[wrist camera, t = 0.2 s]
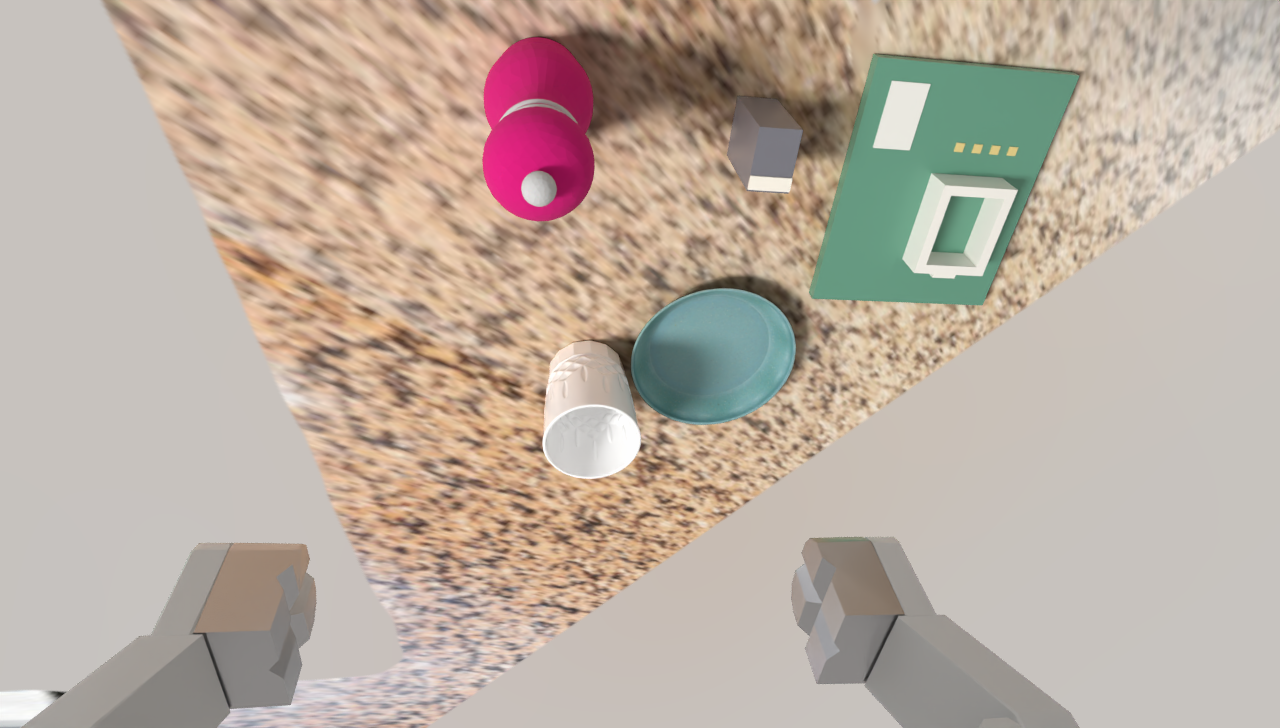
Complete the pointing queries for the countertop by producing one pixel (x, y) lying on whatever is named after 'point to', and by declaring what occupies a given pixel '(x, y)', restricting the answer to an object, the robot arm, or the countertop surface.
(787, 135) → the plug
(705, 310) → the saucer
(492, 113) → the pepper mill
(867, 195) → the board
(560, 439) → the white cup
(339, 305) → the countertop surface
